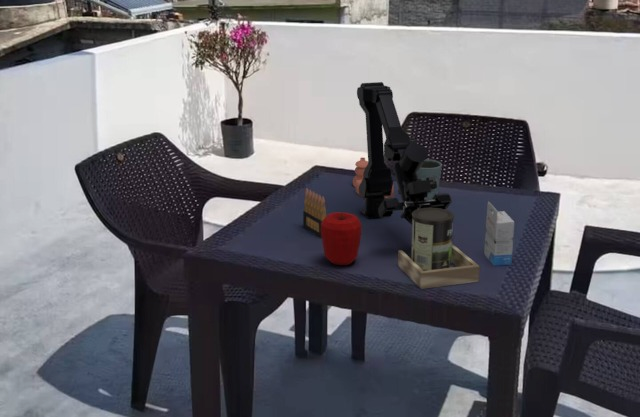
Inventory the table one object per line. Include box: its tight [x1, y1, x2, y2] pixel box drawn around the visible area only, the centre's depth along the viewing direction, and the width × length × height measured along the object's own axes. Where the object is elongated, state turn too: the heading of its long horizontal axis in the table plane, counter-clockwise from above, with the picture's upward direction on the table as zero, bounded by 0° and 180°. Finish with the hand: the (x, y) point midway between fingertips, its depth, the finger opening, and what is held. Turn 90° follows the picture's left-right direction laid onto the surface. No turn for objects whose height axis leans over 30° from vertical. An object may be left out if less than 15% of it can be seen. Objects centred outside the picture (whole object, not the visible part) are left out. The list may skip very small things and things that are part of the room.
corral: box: [397, 243, 481, 290], centre depth 195 cm, size 15×15×4 cm
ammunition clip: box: [302, 187, 327, 239], centre depth 222 cm, size 11×2×12 cm, turn 30°
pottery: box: [352, 157, 395, 200], centre depth 259 cm, size 18×10×10 cm, turn 19°
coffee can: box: [410, 208, 455, 271], centre depth 197 cm, size 10×10×14 cm
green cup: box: [417, 158, 443, 200], centre depth 249 cm, size 10×10×12 cm
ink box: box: [483, 200, 515, 267], centre depth 201 cm, size 9×5×15 cm, turn 5°
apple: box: [321, 211, 362, 266], centre depth 200 cm, size 11×10×14 cm
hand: (423, 234), depth 202 cm, fingers closed, pressing on coffee can
